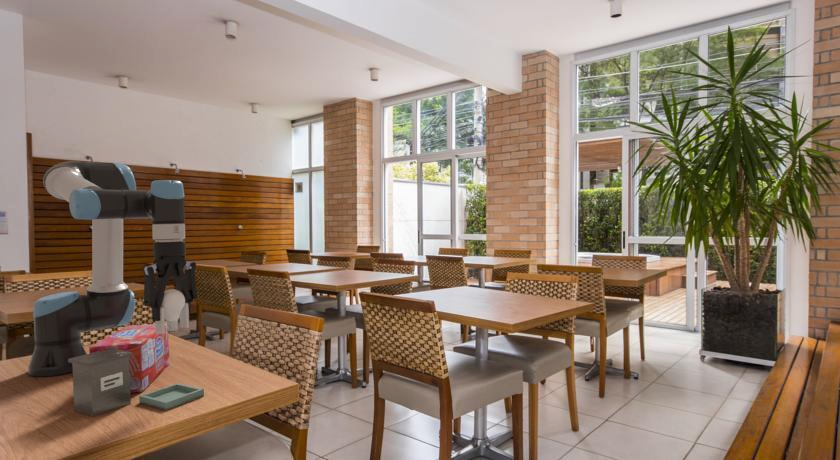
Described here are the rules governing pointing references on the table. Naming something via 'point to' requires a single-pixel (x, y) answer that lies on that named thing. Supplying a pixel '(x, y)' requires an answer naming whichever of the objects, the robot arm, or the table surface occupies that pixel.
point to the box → (139, 352)
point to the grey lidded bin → (101, 381)
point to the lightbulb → (172, 308)
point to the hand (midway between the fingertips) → (172, 330)
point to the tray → (171, 396)
